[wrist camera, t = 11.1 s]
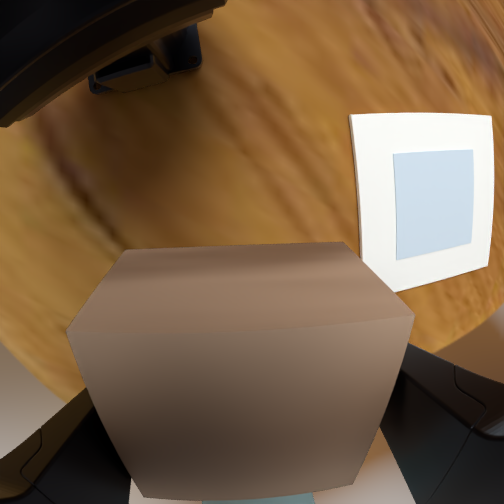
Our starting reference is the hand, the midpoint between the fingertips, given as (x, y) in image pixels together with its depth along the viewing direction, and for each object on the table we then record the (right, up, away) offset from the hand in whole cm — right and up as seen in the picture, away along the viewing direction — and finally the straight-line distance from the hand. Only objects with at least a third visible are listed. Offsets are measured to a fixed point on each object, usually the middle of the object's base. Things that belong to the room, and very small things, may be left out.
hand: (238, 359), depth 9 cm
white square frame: (+13, +6, +11) cm, 18 cm away
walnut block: (0, 0, +1) cm, 1 cm away
